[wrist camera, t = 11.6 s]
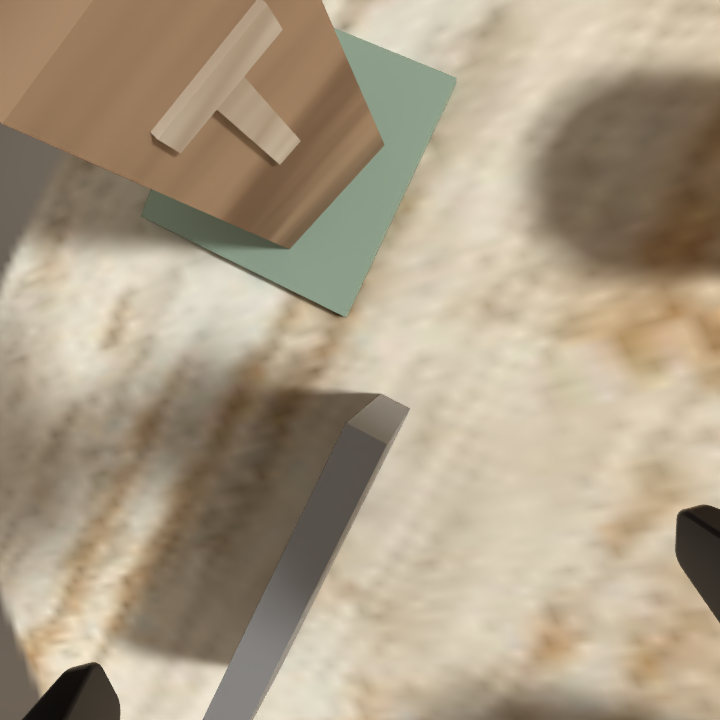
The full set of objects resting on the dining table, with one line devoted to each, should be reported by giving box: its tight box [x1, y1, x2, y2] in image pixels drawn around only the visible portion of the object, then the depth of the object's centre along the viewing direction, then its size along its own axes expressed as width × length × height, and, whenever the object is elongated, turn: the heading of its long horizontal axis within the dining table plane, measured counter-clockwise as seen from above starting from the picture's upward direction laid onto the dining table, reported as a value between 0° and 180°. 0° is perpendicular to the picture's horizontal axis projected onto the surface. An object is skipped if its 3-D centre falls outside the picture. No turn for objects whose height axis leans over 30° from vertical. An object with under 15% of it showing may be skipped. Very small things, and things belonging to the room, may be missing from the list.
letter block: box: [0, 0, 384, 249], centre depth 13 cm, size 5×5×12 cm
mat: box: [141, 28, 456, 317], centre depth 20 cm, size 9×9×1 cm
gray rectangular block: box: [203, 394, 410, 720], centre depth 18 cm, size 1×12×6 cm, turn 154°
